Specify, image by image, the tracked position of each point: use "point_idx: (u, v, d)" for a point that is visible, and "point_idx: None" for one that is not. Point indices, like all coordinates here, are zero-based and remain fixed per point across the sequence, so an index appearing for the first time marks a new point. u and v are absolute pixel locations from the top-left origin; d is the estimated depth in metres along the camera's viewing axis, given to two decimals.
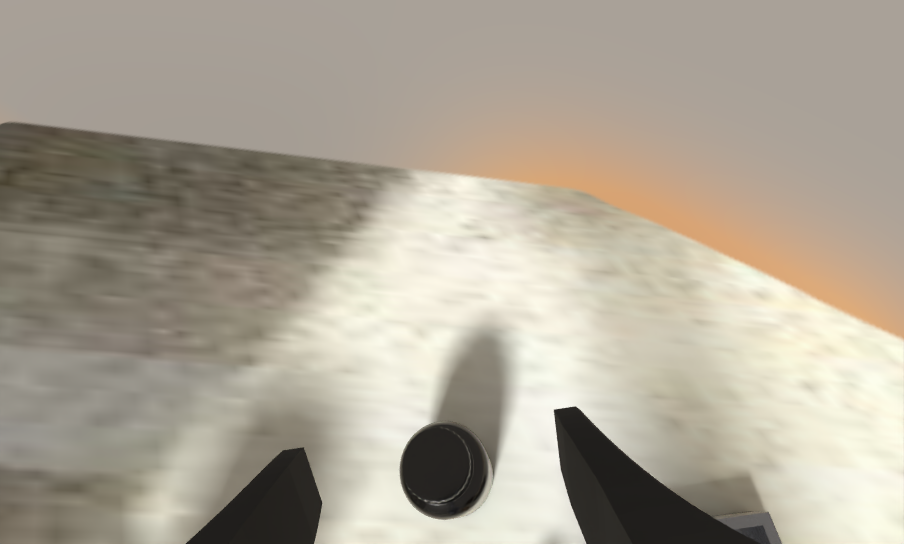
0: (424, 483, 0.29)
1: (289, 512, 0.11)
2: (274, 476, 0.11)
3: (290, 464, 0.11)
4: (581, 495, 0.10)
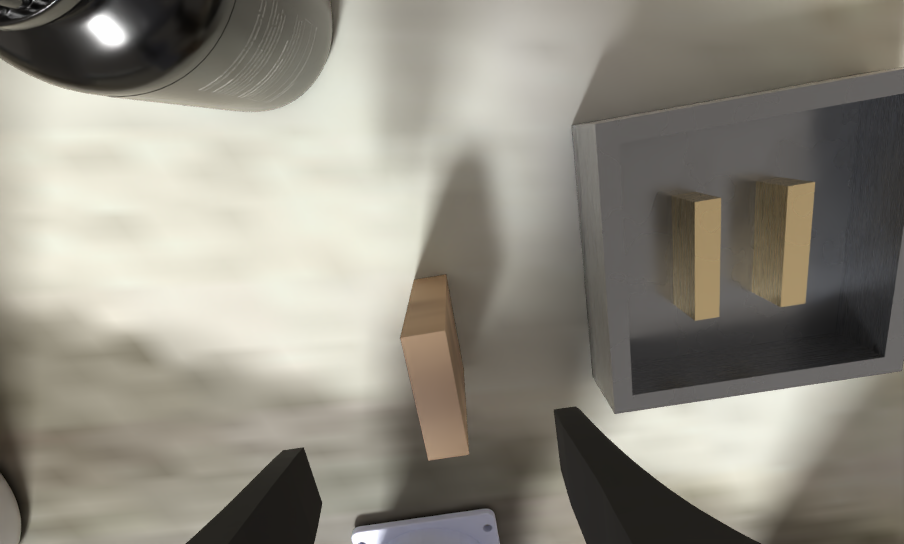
0: None
1: (289, 512, 0.11)
2: (274, 476, 0.11)
3: (290, 464, 0.11)
4: (581, 495, 0.10)
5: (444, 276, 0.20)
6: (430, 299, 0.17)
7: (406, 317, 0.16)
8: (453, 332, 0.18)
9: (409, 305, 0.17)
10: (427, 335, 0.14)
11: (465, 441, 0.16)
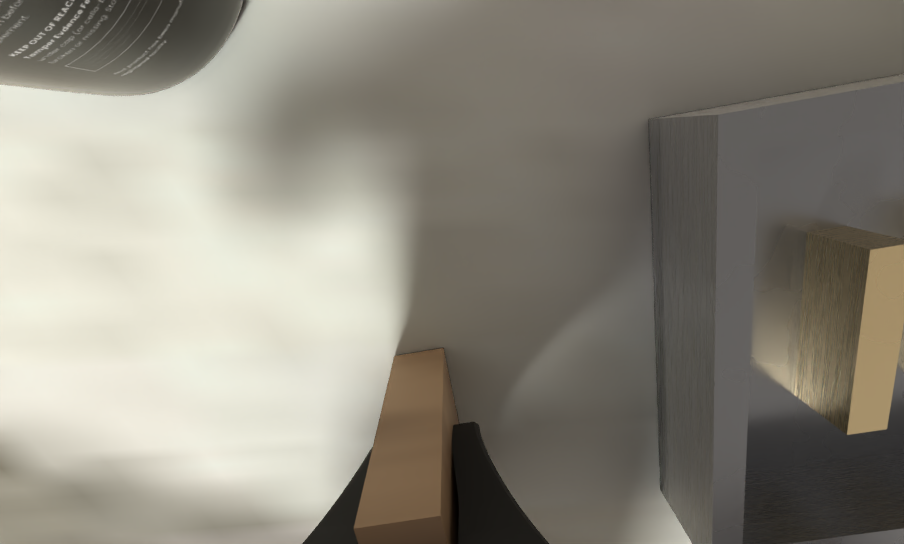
0: None
1: None
2: None
3: None
4: None
5: (440, 352, 0.13)
6: (415, 410, 0.10)
7: (372, 459, 0.09)
8: None
9: (381, 423, 0.10)
10: (407, 524, 0.07)
11: None
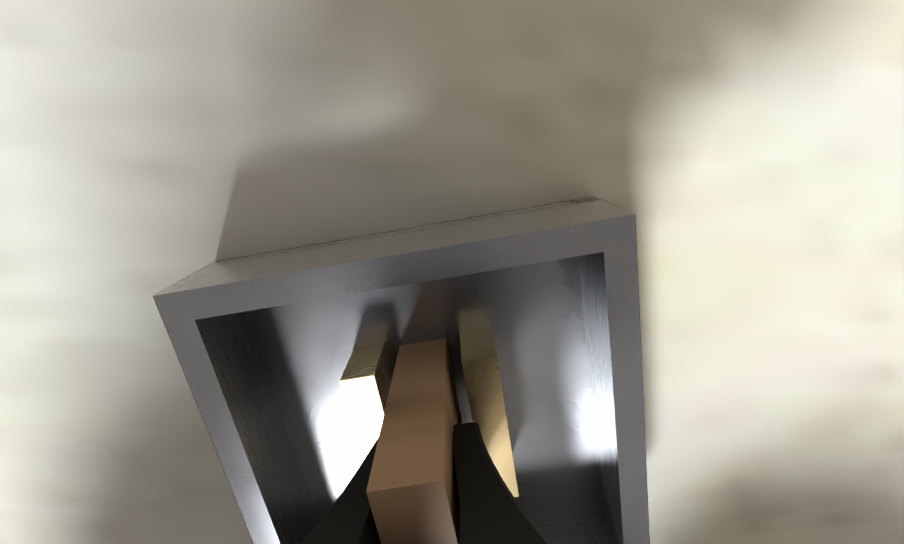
0: None
1: None
2: None
3: None
4: None
5: (443, 342, 0.14)
6: (420, 393, 0.11)
7: (381, 434, 0.10)
8: None
9: (388, 404, 0.11)
10: (413, 488, 0.08)
11: None
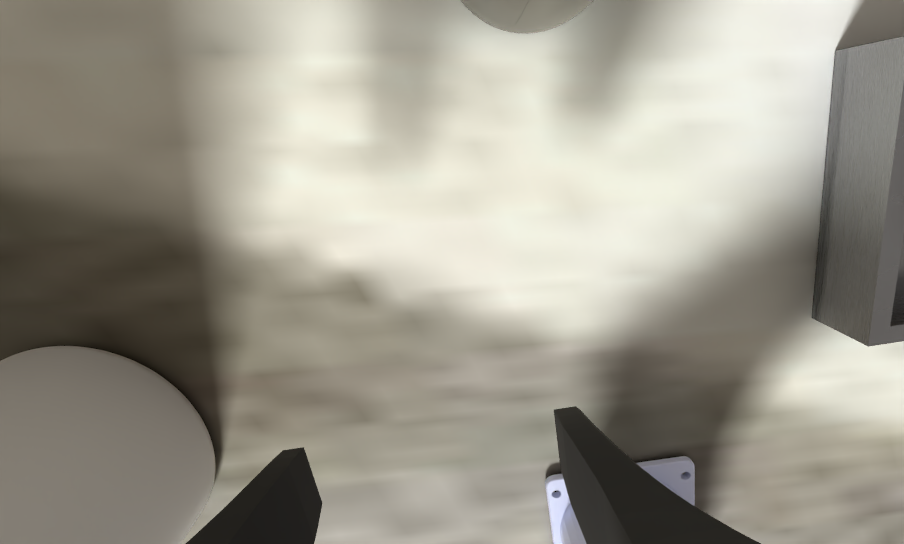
0: None
1: (289, 512, 0.11)
2: (274, 476, 0.11)
3: (290, 464, 0.11)
4: (581, 495, 0.10)
5: None
6: None
7: None
8: None
9: None
10: None
11: None
